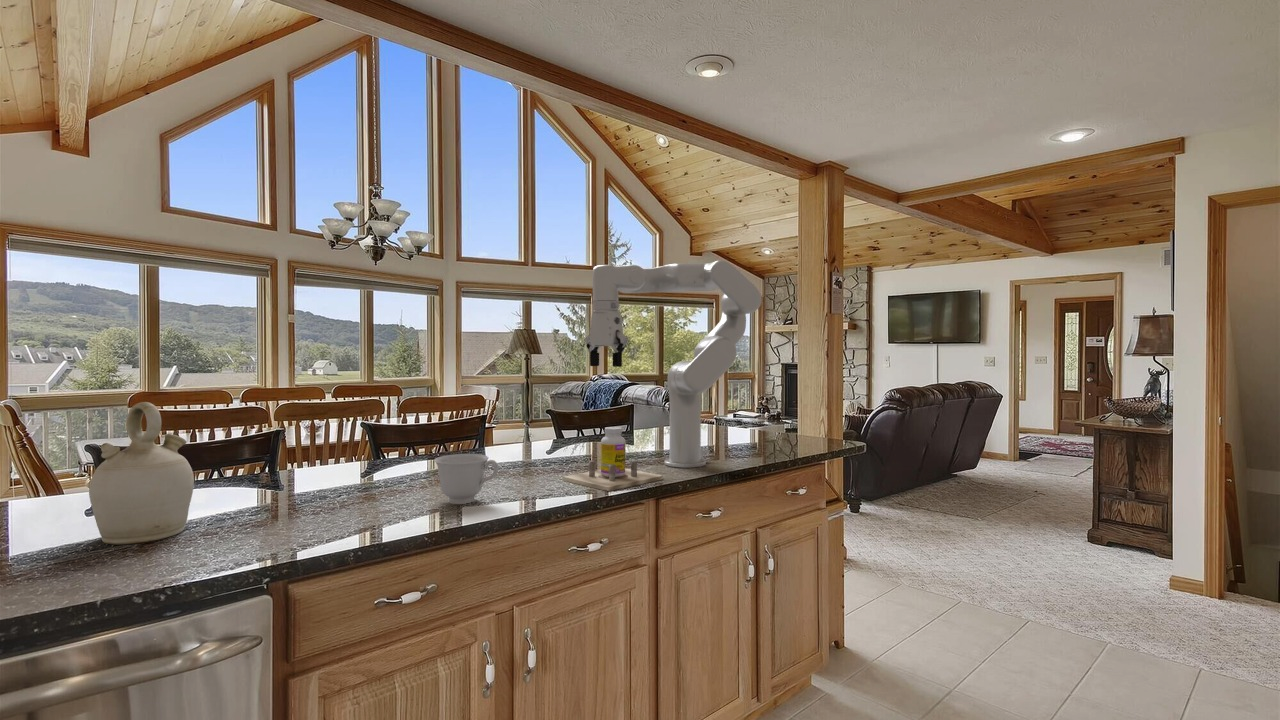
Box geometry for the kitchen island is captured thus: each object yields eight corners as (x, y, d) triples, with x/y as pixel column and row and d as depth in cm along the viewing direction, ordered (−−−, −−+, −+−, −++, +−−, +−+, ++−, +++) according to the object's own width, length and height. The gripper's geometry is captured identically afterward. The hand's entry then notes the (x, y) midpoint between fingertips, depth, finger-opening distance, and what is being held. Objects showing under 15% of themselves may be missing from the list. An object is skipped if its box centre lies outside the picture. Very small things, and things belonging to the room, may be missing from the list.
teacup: (486, 510, 134) (486, 464, 134) (423, 506, 137) (423, 461, 137) (508, 497, 146) (508, 455, 146) (450, 494, 149) (450, 452, 149)
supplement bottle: (615, 479, 162) (615, 430, 162) (595, 476, 166) (595, 428, 165) (630, 475, 167) (630, 427, 167) (611, 472, 171) (611, 425, 171)
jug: (181, 519, 127) (179, 397, 126) (205, 533, 117) (204, 401, 117) (81, 536, 115) (80, 402, 115) (99, 554, 105) (98, 407, 105)
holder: (617, 470, 180) (617, 453, 179) (662, 479, 167) (662, 460, 167) (562, 480, 165) (562, 461, 165) (608, 491, 153) (608, 471, 153)
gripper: (635, 307, 177) (635, 366, 178) (595, 309, 189) (595, 365, 190) (616, 305, 172) (617, 367, 172) (576, 308, 184) (576, 366, 184)
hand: (605, 366), depth 181 cm, fingers open, 9 cm apart
